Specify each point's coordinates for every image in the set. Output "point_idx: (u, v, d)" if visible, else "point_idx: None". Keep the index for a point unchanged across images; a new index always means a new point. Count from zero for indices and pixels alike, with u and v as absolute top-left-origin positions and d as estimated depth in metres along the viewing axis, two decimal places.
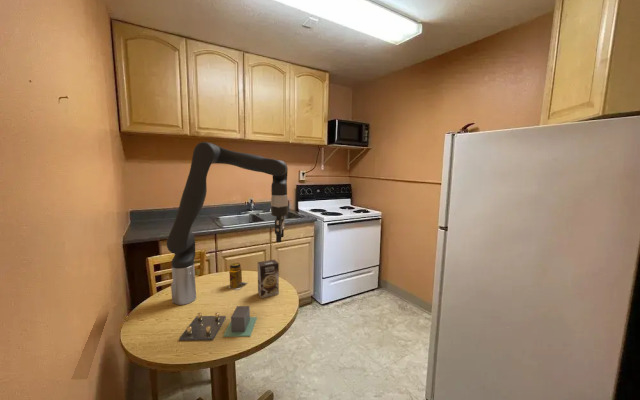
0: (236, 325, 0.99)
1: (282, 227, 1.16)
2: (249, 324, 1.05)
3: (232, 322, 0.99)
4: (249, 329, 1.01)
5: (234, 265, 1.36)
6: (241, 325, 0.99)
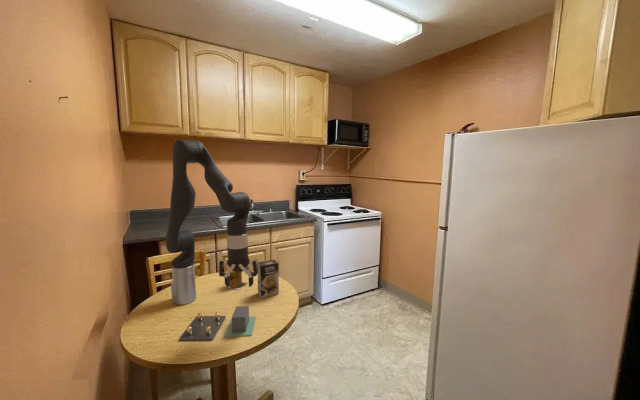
0: (237, 325, 0.99)
1: (249, 267, 1.02)
2: (249, 324, 1.05)
3: (233, 322, 0.99)
4: (250, 329, 1.02)
5: None
6: (242, 325, 1.00)
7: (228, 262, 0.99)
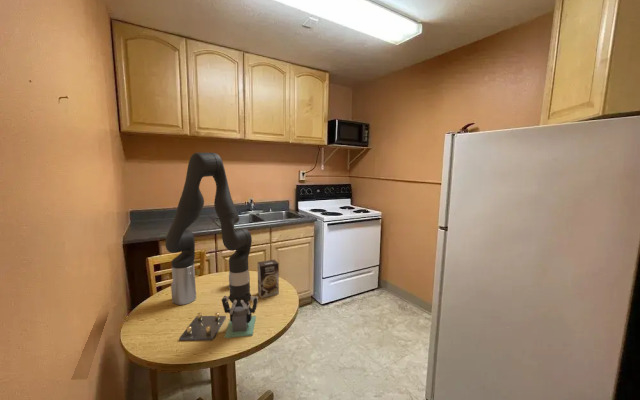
0: (237, 325, 0.99)
1: (249, 303, 1.04)
2: (249, 323, 1.05)
3: (233, 322, 0.99)
4: (250, 328, 1.02)
5: None
6: (242, 324, 0.99)
7: (230, 298, 1.01)
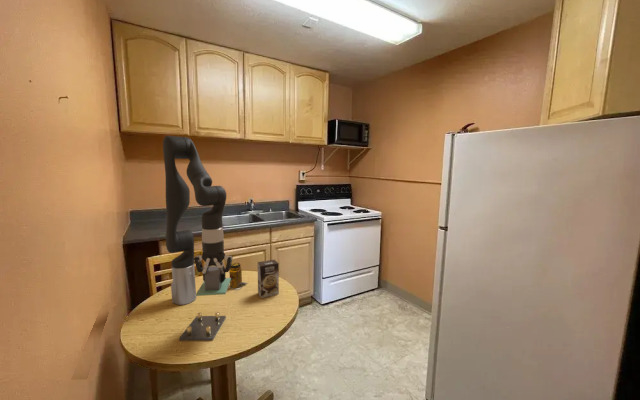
0: (210, 283, 0.97)
1: (223, 263, 1.02)
2: (223, 283, 1.02)
3: (206, 280, 0.96)
4: (224, 287, 0.99)
5: (234, 265, 1.36)
6: (215, 283, 0.97)
7: (203, 256, 0.98)
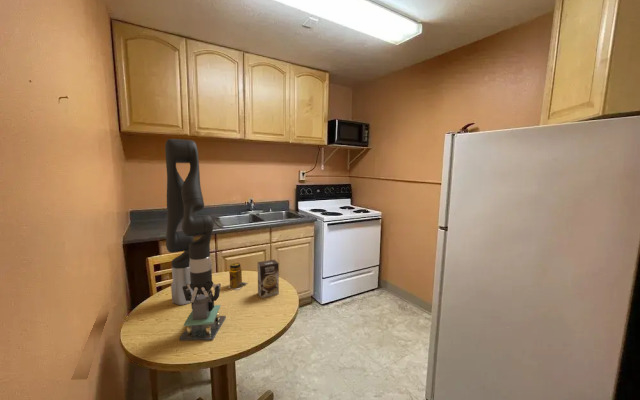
0: (197, 313, 0.97)
1: None
2: (212, 312, 1.03)
3: (193, 310, 0.97)
4: (212, 316, 1.00)
5: (234, 265, 1.36)
6: (203, 312, 0.97)
7: (191, 285, 0.99)
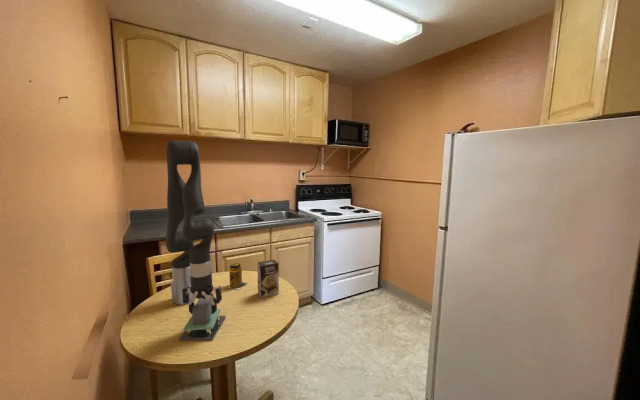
0: (197, 317, 0.98)
1: (213, 294, 1.02)
2: (212, 316, 1.03)
3: (193, 314, 0.97)
4: (212, 321, 1.00)
5: (234, 265, 1.36)
6: (203, 317, 0.98)
7: (191, 289, 0.99)
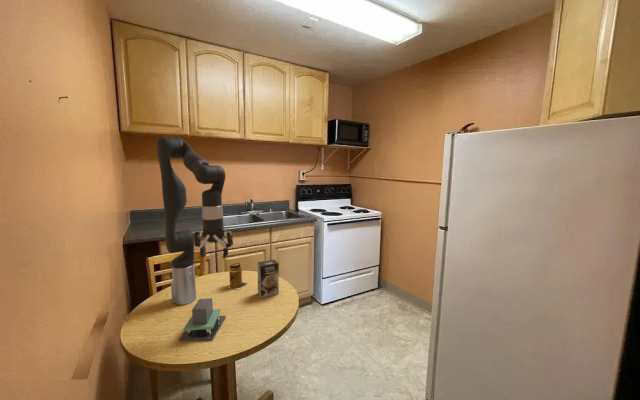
0: (197, 317, 0.98)
1: None
2: (212, 316, 1.03)
3: (193, 314, 0.97)
4: (212, 321, 1.00)
5: (234, 265, 1.36)
6: (203, 317, 0.98)
7: (203, 233, 1.03)
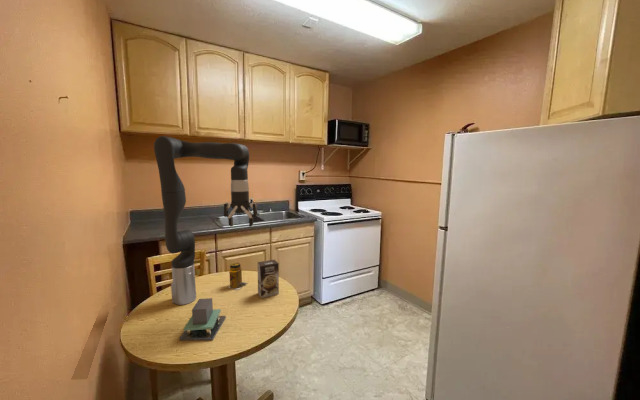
0: (197, 317, 0.98)
1: None
2: (212, 316, 1.03)
3: (193, 314, 0.97)
4: (212, 321, 1.00)
5: (234, 265, 1.36)
6: (203, 317, 0.98)
7: (231, 204, 1.15)
